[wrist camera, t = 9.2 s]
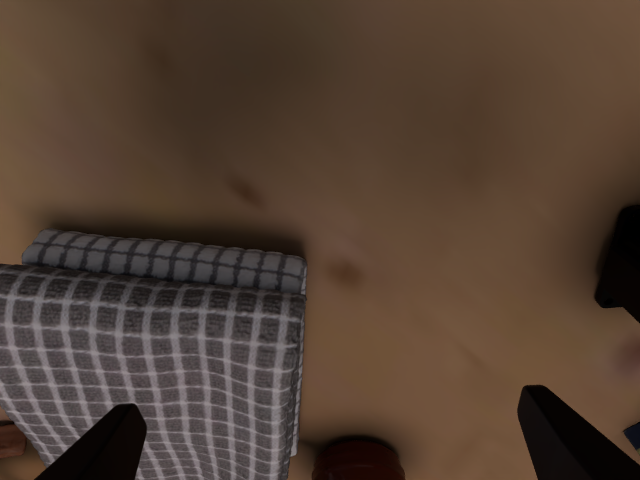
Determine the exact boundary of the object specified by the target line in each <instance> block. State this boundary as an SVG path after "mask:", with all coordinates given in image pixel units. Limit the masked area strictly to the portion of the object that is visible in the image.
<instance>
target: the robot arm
mask: <svg viewBox="0 0 640 480" xmlns="http://www.w3.org/2000/svg"><path fill="white" fill-rule="evenodd" d="M633 214H634V216H633V217H632V218H630V217H631V216H632V215H633ZM629 218H630V219H629ZM606 299H607V300H606ZM595 301H596V302H597V303H598V304H599V305H600V307H602V308H615V307H624V308H625V309H626V310H627V311H628V312H629V313H630V314H631V315H632V316H633V317H634V318H635V319H636V320H637V321H638V322H639V323H640V205H637V206H630V207H627V208H626V209H624V210H623V211H622V212H621V213H620V215H619V219H618V222H617V225H616V229H615V232H614V236H613V239H612V243H611V246H610V249H609V253H608V256H607V260H606V263H605V267H604V270H603V274H602V277H601V281H600V284H599V288H598V291H597V295H596V300H595ZM517 413H518V419H519V422H520V425H521V428H522V432H523V435H524V438H525V441H526V444H527V447H528V450H529V453H530V456H531V459H532V463H533V466H534V469H535V472H536V475H537V478H538V480H640V465H639V464H638V463H636V462H635V461H634V460H633V459H632V458H630V457H629V456H628V455H627V454H626V453H624V452H623V451H622V450H621V449H620V448H618V447H617V446H616V445H615V444H614V443H612V442H611V441H610V440H609V439H608V438H606V437H605V436H604V435H603V434H602V433H601V432H599V431H598V430H597V429H596V428H595V427H593V426H592V425H591V424H590V423H589V422H587V421H586V420H585V419H584V418H583V417H581V416H580V415H579V414H578V413H577V412H575V411H574V410H573V409H572V408H571V407H569V406H568V405H567V404H566V403H565V402H564V401H562V400H561V399H560V398H559V397H558V396H556V395H555V394H554V393H553V392H552V391H550V390H549V389H548V388H547V387H545V386H543V385H526V386H524V387H523V388H522V391H521V396H520V400H519V404H518V409H517ZM146 434H147V425H146V422H145V420H144V418H143V416H142V414H141V412H140V410H139V408H138V406H137V405H136V404H134V403H122V404H118V405H116V406H114V407H113V408H112V409H111V410H110V411H109V412H108V413H107V414H106V415H104V416H103V417H102V418H101V419H100V420H99V421H98V422H97V423H96V424H95V425H93V426H92V427H91V428H90V429H89V430H88V431H87V432H86V433H85V434H84V435H82V436H81V437H80V438H79V439H78V440H77V441H76V442H75V443H74V444H73V445H72V446H70V447H69V448H68V449H67V450H66V451H65V452H64V453H63V454H62V455H61V456H59V457H58V458H57V459H56V460H55V461H54V462H53V463H52V464H51V465H50V466H49V467H47V468H46V469H45V470H44V471H43V472H42V473H41V474H40V475H39V476H38V477H36V478H35V479H34V480H135V477H136V473H137V469H138V466H139V462H140V458H141V454H142V450H143V446H144V442H145V438H146Z"/></svg>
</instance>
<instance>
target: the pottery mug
mask: <svg viewBox="0 0 640 480" xmlns="http://www.w3.org/2000/svg"><path fill="white" fill-rule="evenodd" d="M26 440H27V437H26V436H25V434H24V433H23V432H22V431H21V430H20V429H19V428H18V427H17V426H16V425H15V424H13V425H5V426H0V459H1V458H6V457H12V456H20V455H22V454H23V453H24V452H25V449H26V444H27V442H26Z"/></svg>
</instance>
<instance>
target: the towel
mask: <svg viewBox="0 0 640 480" xmlns="http://www.w3.org/2000/svg"><path fill="white" fill-rule="evenodd" d="M22 264H23V265H17V264H15V265H8V264H0V406H1V407H2V409H4V410H5V412H6V414H7V415H8V417H9V418H10V420H12V421H14V423H15V425H16V426H17V427H18V428H19V429H20V430H21V431H22V432H23V433H24V434H25V436H26V437H27V438H28V439H29V440H31V443H32V444H33V447H34V448H35V449H36V450H37V451H38V454H39V455H40V459H41V460H42V461H43V462H44V465H45V466H46V468H47V467H49V466H50V465H51V464H52V463H53V462H54V461H55V460H56V459H57V458H58V457H59V456H61V455H62V454H63V453H64V452H65V451H66V450H67V449H68V448H69V447H70V446H72V445H73V444H74V443H75V442H76V441H77V440H78V439H79V438H80V437H81V436H82V435H84V434H85V433H86V432H87V431H88V430H89V429H90V428H91V427H92V426H93V425H95V424H96V423H97V422H98V421H99V420H100V419H101V418H102V417H103V416H104V415H106V414H107V413H108V412H109V411H110V410H111V409H112V408H113V407H114V406H116V405H118V404H122V403H134V404H136V405H137V406H138V408H139V410H140V412H141V414H142V416H143V418H144V420H145V422H146V425H147V434H146V438H145V442H144V446H143V450H142V454H141V458H140V462H139V466H138V469H137V473H136V477H135V480H287V478H288V468H289V463H290V459H289V458H290V457H291V456H294V455H296V454H297V449H298V441H299V413H300V400H301V383H302V367H303V366H302V363H303V350H304V348H303V342H304V329H305V322H304V315H305V304H306V303H305V302H306V301H307V298H306V277H307V261H305V260H304V259H303V258H301V257H299V256H293V255H284V254H283V253H280V252H264V251H262V250H258V249H248V250H245V249H243V248H237V247H233V248H225V247H223V246H215V245H206V246H205V245H203V244H200V243H184V242H180V241H174V240H168V241H163V240H159V239H144V240H143V239H139V238H126V239H125V238H122V237H112V236H110V237H105V236H103V235H96V234H86V233H81V232H75V231H66V232H65V231H61V230H56V229H52V228H51V229H45V230H42V231H40V232H39V234H38V237H37V238H36V239H35V240H34V241H33V243H32V244H31V245H30V246H28V248H27V249H26V250H25V251H24V252H23V254H22Z"/></svg>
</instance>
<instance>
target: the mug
mask: <svg viewBox="0 0 640 480" xmlns="http://www.w3.org/2000/svg"><path fill="white" fill-rule="evenodd" d="M312 480H405V472H404V470H403V468H402V467H401V465H400V461H399V459H398V457H397V456H396V455H395V453H393V452H392V451H391V450H390V449H388V448H387V447H385V446H383V445H381V444H379V443H376V442H373V441H369V440H360V439H356V440H347V441H342V442H339V443H336V444H334V445H332V446H330V447H329V448H327V449H326V450H324V451H323V452H322V453H321V454H320V455H319V456H318V458H317V459H316V461H315V464H314V469H313V472H312Z"/></svg>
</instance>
